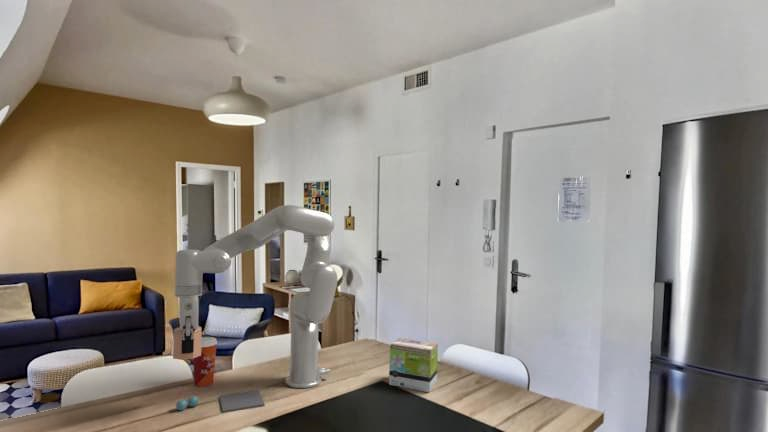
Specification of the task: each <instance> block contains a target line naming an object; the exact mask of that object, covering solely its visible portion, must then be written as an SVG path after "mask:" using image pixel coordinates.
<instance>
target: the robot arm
mask: <svg viewBox="0 0 768 432" xmlns="http://www.w3.org/2000/svg"><path fill="white" fill-rule="evenodd" d="M334 228H335V221H334V218H333V217H332V216H331V215H330V214H329V213H327V212H324V211H319V210H315V209H310V208H306V207H303V206H299V205H293V204H287V205H278V206H277V207H275V208H273V209H271V210H269V211H268V212H267V213H265V214H263V215H262V216H260V217H258V218H257V219H255V220H253V221H251V222H250V223H248V224H247V225H244V226H243V227H240V228H238V229H237V230H235V231H233V232H231V233H230V234H228V235H226V236H224V237H222V238H220V239H219V240H217V241H215V242H213V243H212V244H210V245H209V246H207V247H205V248H204V249H203V250H200V249H180V250H178V251H177V252H176V253H175V268H174V269H175V271H174V297H175V298H179V299H178V318H179V321H178V322H179V327H180V330H181V331H183V340H182V350H181V353H182V354H186V353H193V351H194V339H193V328H194V329H196V330H197V329H198V326H199V311H200V308H199V304H200V303H199V297H200V296H202V295H203V275H204V274H203V273H206V274H222V273H224V272H226V271H227V270H228V269H230V267H231V265H232V258H233V259H234V257H236V256H238V255H240V254H243V253H246V252H249V251H253V250H256V249H259V248H261V247H264V246H265V245H266V244H268V243H269V242H271V241H273V240H274V239H276V238H277V237H279V236H280V235H282V234H283V233H285V232H286V231H292V232H296V233H301V234H302V235H304V237H305V239H306V243H307V245H306V246H307V249H306V254H305V257H304V261H303V265H302V269H301V273H300V282H301V284H302V285H303V286H304V287H306V288H307V289H309V291H299V292H297V293H295V294H294V295H293V296H292V297H291V300H290V301H289V318H290V355H289V356H290V358H289V359H290V360H289V375H288V376H287V377H286V378H285V379H284V380H285V381H284V382H285V384H286V386H289V387H291V388H294V389H295V388H296V389H307V388H312V387H315V386H318V385H319V384H321V382H322V379H323V378H322V376H326V375H331V373H332V372H331V371H332V370H331V368H325V367H321V368H319V367H318V357H319V356H318V355H319V354H318V353H319V351H318V350H319V326H318V325H319V324H322V323H324V322H325V321H326V320H327V319H328V317H329V315H330V313H331V311H332V306H333V303H334V299H335V294H336V290H337V287H338V274H337V271H336V269H335V268H334V267H333V266H331V265H330V264H329V262H330V256H331V251H332V244H331V239H330V237H329V235H330V234H331V233H333V232H334ZM191 327H192V328H191ZM184 328H186V329H184ZM190 331H191V332H190Z"/></svg>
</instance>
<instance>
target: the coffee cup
mask: <svg viewBox="0 0 768 432" xmlns="http://www.w3.org/2000/svg"><path fill="white" fill-rule="evenodd" d="M217 345H218V340H217V338H216V337H211V336H205V337H202V338H201V356H198V357H196V358H193V359H192V360H193V380H194V381H193V382H194V385H195V387H207V386H210V385H211V384H213V383H214V378H215V377H214V376H215V367H216V365H215V364H216V354H217V353H216V352H217Z"/></svg>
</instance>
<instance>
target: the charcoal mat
mask: <svg viewBox="0 0 768 432" xmlns="http://www.w3.org/2000/svg"><path fill="white" fill-rule="evenodd" d="M219 400H220V405H221V410H222V413H228V412H229V413H230V412H235V411H243V410H249V409H253V408H255V409H256V408H261V407H265V405H266V404H265V402H264V399H263V397H262V395H261V392H260V390H259V389H257V390H249V391H242V392H235V393H227V394H222V395H219Z"/></svg>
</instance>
